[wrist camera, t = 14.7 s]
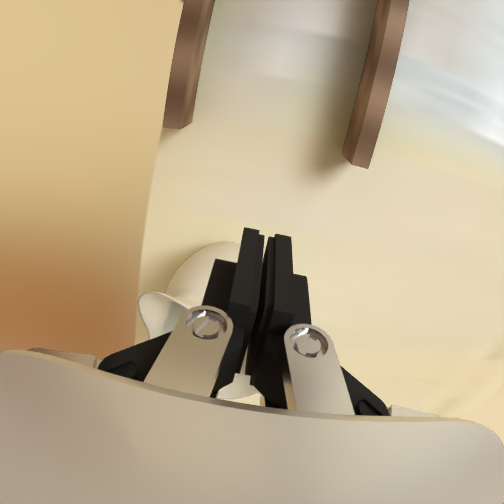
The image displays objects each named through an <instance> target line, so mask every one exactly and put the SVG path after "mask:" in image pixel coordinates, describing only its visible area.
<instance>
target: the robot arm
mask: <svg viewBox="0 0 504 504" xmlns="http://www.w3.org/2000/svg"><path fill="white" fill-rule="evenodd" d="M263 248H264V235H260V234H259V230H255V229H250V228H245V227H244V231H243V236H242V241H241V246H240V251H239V256H238V261H237V263H236V262H231V261H226V260H221V259H215V261H214V264H213V267H212V271H211V274H210V277H209V281H208V284H207V287H206V291H205V294H204V298H203V301H202V304H201V306H196V307H192V308H190V309H188V310H187V311H185V312H184V314H183V315H182V316H181V318H180V319H179V321H178V323H177V325H176V326H175V328H174V330H173V331H171V332H168V333H166V334H163V335H161V336H158V337H155V338H153V339H150V340H148V341H145V342H143V343H140V344H137V345H135V346H132V347H130V348H127V349H124V350H122V351H119V352H116V353H114V354H111V355H110V356H107V357H106V358H104V359H96V356H95V355H88V354H80V353H71V352H64V351H56V350H50V349H42V348H32V349H29V350H8V349H6V350H0V504H504V445H503V443H502V441H501V440H500V438H499V436H498V435H497V434H496V433H495V432H494V431H492V430H491V429H489V428H487V427H485V426H484V425H481V424H478V423H476V422H473V421H469V420H463V419H459V418H449V417H441V416H438V415H434V414H429V413H424V412H420V411H415V410H411V409H407V408H402V407H398V406H394V405H391V406H390V408H388V407H386V405H385V404H384V403H383V402H382V400H381V399H379V398H378V397H377V396H376V395H375V394H373V393H372V392H371V391H370V390H369V389H367V388H366V387H365V386H364V385H363V384H362V383H360V382H359V381H358V380H357V379H356V378H354V377H353V376H352V375H351V374H350V373H348V372H347V371H346V370H345V369H344V368H343V367H341V366H340V363H339V360H338V357H337V354H336V351H335V348H334V344H333V342H332V340H331V338H330V336H329V335H328V334H327V333H326V332H325V331H323V330H322V329H320V328H319V327H316V326H313V325H311V314H310V303H309V293H308V283H307V277H306V276H302V275H297V274H293V261H292V243H291V237H289V236H285V235H280V234H275V237H270V236H269V238H268V242H267V246H266V250H265V254H264V258H263ZM262 259H263V262H262ZM247 347H248V348H247ZM246 350H247V357H246V366H245V375H249V376H250V385H251V386H254V387H255V388H256V389H257V390H258V391H259V392H260V393H261V396H260V406H257V405H250V404H244V403H238V402H232V401H226V400H221V399H217V398H218V395H219V391H220V389H221V388H223V387H225V386H227V385H229V384H230V383H232V382H233V379H234V376H235V373H237V374H240V371H241V368H242V364H243V361H244V357H245V354H246Z"/></svg>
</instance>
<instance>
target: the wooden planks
mask: <svg viewBox="0 0 504 504" xmlns="http://www.w3.org/2000/svg"><path fill="white" fill-rule="evenodd" d="M214 2H215V0H185V1H184V5H183V10H182V15H181V19H180V24H179V29H178V34H177V39H176V44H175V49H174V55H173V60H172V66H171V72H170V79H169V84H168V91H167V98H166V105H165V112H164V120H163V127H166V128H174V129H182V128H183V127H185V126H187V125H188V124H190V123H192V118H193V111H194V105H195V99H196V93H197V87H198V81H199V75H200V70H201V64H202V59H203V54H204V49H205V44H206V39H207V34H208V29H209V24H210V20H211V15H212V11H213V6H214ZM408 6H409V0H378V4H377V9H376V14H375V19H374V24H373V29H372V33H371V38H370V43H369V47H368V52H367V56H366V60H365V65H364V69H363V73H362V77H361V82H360V86H359V90H358V94H357V98H356V102H355V106H354V110H353V113H352V117H351V121H350V125H349V129H348V132H347V136H346V140H345V143H344V147H343V151H342V154H343V155H344V156H345V158H346V159H347V160H348V161H349V162H350V163H351V164H352V165H356V166H359V167H363V168H366V169H368V168H369V165H370V161H371V158H372V155H373V151H374V148H375V145H376V141H377V138H378V134H379V131H380V127H381V123H382V120H383V116H384V112H385V109H386V105H387V101H388V97H389V93H390V89H391V85H392V81H393V77H394V73H395V69H396V64H397V60H398V55H399V51H400V46H401V42H402V37H403V32H404V27H405V22H406V16H407V11H408Z"/></svg>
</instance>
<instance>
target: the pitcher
mask: <svg viewBox="0 0 504 504" xmlns="http://www.w3.org/2000/svg"><path fill="white" fill-rule="evenodd" d="M240 246H241V244H239V243H234V242H221V243H215V244H211V245H209V246H206V247H204V248H202V249H200V250H199V251H197V252H196V253H194V254H193V255H192V256H190V257H189V258H188V259H187V260H186V261H185V262H184V263H183V264H182V265H181V266H180V267H179V269H178V270H177V271H176V273H175V274H174V276H173V278H172V279H171V281H170V283H169V285H168V287H167V290H166V292H165V294H164V293H161V292H154V291H149V292H145V293H144V294H142V295H141V296H140V297H139V300H138V307H139V312H140V314H141V317H142V320H143V322H144V324H145V326H146V327H147V329H148V333H149V340H150V339H153V338H155V337H158V336H161V335H163V334H166V333H168V332H171V331H173V330H174V328H175V326H176V325H177V323H178V321H179V319H180V318H181V316H182V315H183V314H184V312H185V311H187V310H188V309H190V308H192V307H196V306H201V304H202V301H203V298H204V294H205V291H206V287H207V284H208V281H209V277H210V274H211V271H212V267H213V264H214V261H215V259H221V260H226V261H231V262H236V263H237V261H238V256H239V251H240ZM262 262H263V259H262ZM247 348H248V347H247ZM246 357H247V350H246V354H245V357H244V361H243V364H242V368H241V371H240V374H237V373H235V376H234V379H233V382H232V383H230V384H229V385H227V386H225V387H223V388H221V389H220V391H219V395H218V398H217V399H235V398H242V397H247V396H250V395H253V394H255V393H259V394H261V393H260V392H259V391H258V390H257V389H256V388H255V387H254V386H251V385H250V376H249V375H245V366H246Z"/></svg>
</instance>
